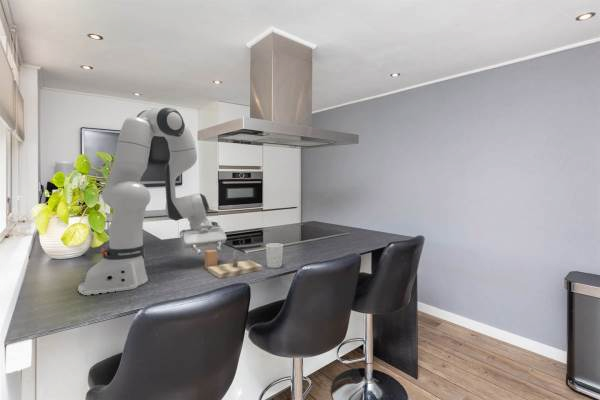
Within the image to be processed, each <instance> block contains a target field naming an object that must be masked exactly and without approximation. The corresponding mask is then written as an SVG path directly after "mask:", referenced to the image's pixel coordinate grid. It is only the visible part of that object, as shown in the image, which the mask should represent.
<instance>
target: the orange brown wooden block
mask: <svg viewBox="0 0 600 400" xmlns="http://www.w3.org/2000/svg"><path fill="white" fill-rule="evenodd" d="M217 265H218V252H217V250H216V249H207V250H206V249H205V250H204V269H205V270H207V271H208V267H212V266H217Z"/></svg>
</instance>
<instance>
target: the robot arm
mask: <svg viewBox="0 0 600 400" xmlns="http://www.w3.org/2000/svg"><path fill="white" fill-rule="evenodd" d="M154 137H164V138H165V140H166V142H167V146H168V151H169V159H168V162H167V163H166V164H165V166H164V185H165V188H164V189H165V200H166V201H165V213H166V216H167V218H169V219H170V220H172V221H179V220H183V219H186V218H187V221H188V222H189V227H190V229H181V231H179V237H180V239H181V242H182V244H181V245H182V247H183V248H184V249H192V250H193V252H195V253H196V255H197V256H199V255H201V254H202V252H201V249H200V247H207V246H214V245H216V246H217V247H216V248H215V250H216V251H217V253H219V252H221V250H222V248H221V245H222V244H226V241H227V234H226V232H225V231H224V229H223V228H222V227H221V223H220V222H218V221H213V220H208V218H207V214H208V212H209V210H210V206H209V203H208V199H207V198H206V196H205V195H204V194H202V193H194V194H190V195H185V196H181V197H180V196H179V197H176V196H177V195H176V179H177V178H178V177H179V176H180V175H181V174H183V173H185V172H186V171H188V170H190V169H191V168H192V167H194V165H195V164H196V162H197V159H198V153H197V149H196V144H195V140H194V137H193V134H192V131H191V129H190V127H189V126H188V125H186V124H185V122H184V118H183V117H182V114H181V113H180V112H179V111H178V110H177V109H175V108H170V107H163V108H161V107H160V108H159V107H157V108H155V107H154V108H151V109H145V110H143V111H141V112H139V113H137V116H131V117H130V116H129V117H127V118H126V119H125V120H124V121H123V123H122V126H121V128H120V131H119V135H118V139H117V145H116V147H115V148H116V149H115V155H114V159H113V164H112V166H111V169H110V172H109V174H108V176H107V179H106V182H105V185H104V187H103V189H102V190H101V198H102V201H103V202H104V203H105V204H106V205H107V206H108V207H110V208H111V209H113V210H112V212H113V213H112V216H111V217H112V218H111V221H110V225H109V226H108V237H109V239H108V241H109V244H108V245H109V247H108V248H106V247H102V248H101V249H100V253H101V254H102V256H103V257H102V259H101V260H100V261H98V262H97V263H96V264H94V265H93V266H92V267H90V268H89V269H88V271H87V272H86V275H85V281H84V282H82V283H80V284H79V285H78V287H77V292H78V291H79V293H81V294H84V295H83V296H85V295H87V296H92V295H91V294H94V295H100V294H99V293H102V294H108V293H107V292H109V293H115V291H116V292H121V291H123V292H124V291H129V290H134V289H136V288H138V287H139V286H141V285H143V284H145V283H147V282H148V281H149V278H148V275H147V271H146V266H145V260H144V259H145V255H146V253H145V245H144V243H143V241H144V240H143V239H144V238H143V237H144V235H143V234H144V233H143V232H144V231H143V230H144V228H143V226H144V220H145V214H146V209H147V207H148V205H149V203H150V201H151V193H150V192H151V191H150V190H149V189H148V188H147V187H146V186H145V185H144V184H142V183H140V182H141V179H142V177H143V175H144V174H145V172H146V170H147V169H148V163H149V157H150V150H151V145H152V140H153V138H154ZM198 248H199V249H198ZM79 293H78V294H79ZM81 294H80V295H81Z"/></svg>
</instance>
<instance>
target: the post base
mask: <svg viewBox="0 0 600 400" xmlns="http://www.w3.org/2000/svg"><path fill="white" fill-rule="evenodd" d="M238 256H239V254H238V251H237V250H234V251H233V252H232V262H229V263H225V264H219V265H218V264H217V266H212V267H208V270H207V272H208V273H210V275H213V276H214V277H216V278H218V279H220V280H221V279H225V278H230V277H236V276H240V275H244V274H249V273H254V272H258V271H263V265H261V264H259V263H257V262H255V261H253V260H250V259H246V260H241V261H240V260H238V259H239V257H238Z"/></svg>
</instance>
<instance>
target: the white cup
mask: <svg viewBox="0 0 600 400" xmlns="http://www.w3.org/2000/svg"><path fill="white" fill-rule="evenodd" d="M265 249H266V250H265V252H266V254H265V255H266V265H267V268H271V269H277V268H281V267H282V266H283V265H282V263H283V254H284V253H283V252H284V244H283V243H277V242H276V243H274V242H272V243H271V242H270V243H266V245H265Z"/></svg>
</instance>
